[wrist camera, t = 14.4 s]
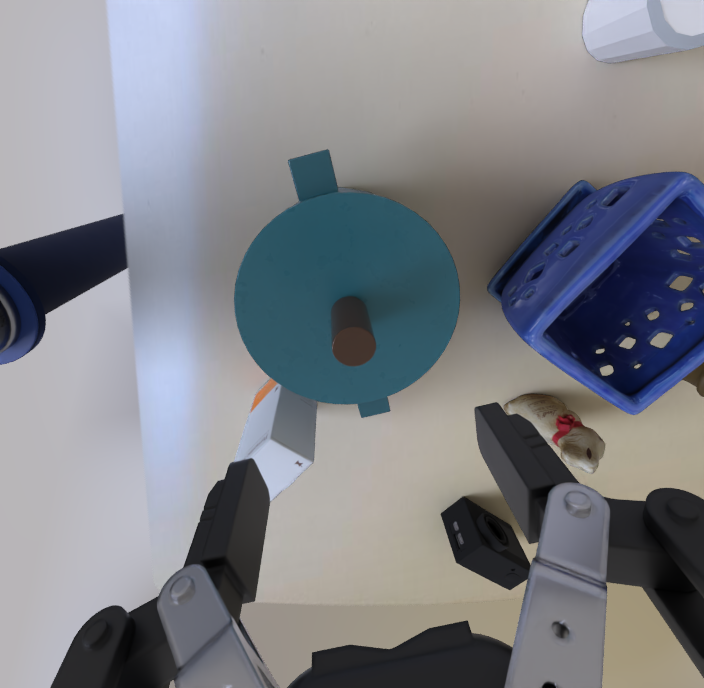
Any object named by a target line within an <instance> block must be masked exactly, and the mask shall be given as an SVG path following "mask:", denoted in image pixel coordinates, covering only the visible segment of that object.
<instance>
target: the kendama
mask: <svg viewBox="0 0 704 688" xmlns="http://www.w3.org/2000/svg"><path fill="white" fill-rule="evenodd" d="M682 380H685V381H687V382H689V383H691V384H693V385H694V386H696V387H697V391H698V393H699V394H700V395H701V396H703V397H704V362H703V363H702V364H701V365H700V366H698V367H697V368H696V369H695V370H693V371H692V372H691V373H689V374H688V375H687V376H686V377H684V378H683V379H682Z"/></svg>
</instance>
